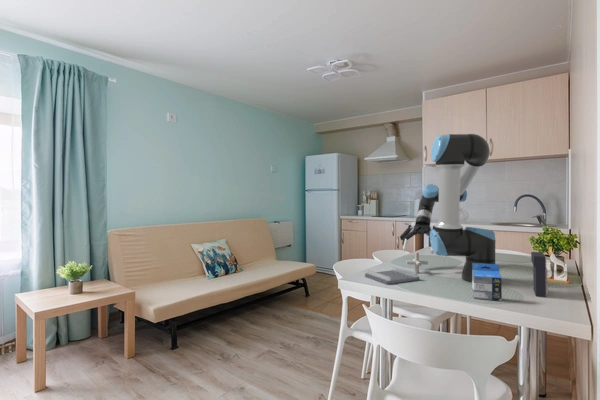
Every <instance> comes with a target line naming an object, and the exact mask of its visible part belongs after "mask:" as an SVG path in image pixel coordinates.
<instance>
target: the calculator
mask: <svg viewBox="0 0 600 400" xmlns="http://www.w3.org/2000/svg"><path fill="white" fill-rule="evenodd" d="M530 252H531V253H530V254H531V256H530V257H531V258H530V260H531V263H532V265H533V266H532V267H533V268H532V269H533V270H532V271H533V272H532V273H533V274H532V275H533V282H532V285H533V286H532V287H533V292H534V295H535V296H536V297H539V298H546V297H547V296H548V289H549V288H548V275H549V274H548V268H547V257H546V255H545V253H543V252H542V251H541V252H540V251H530Z"/></svg>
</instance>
